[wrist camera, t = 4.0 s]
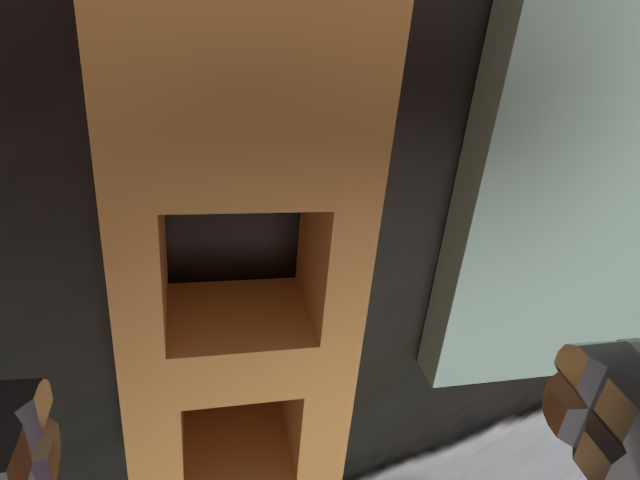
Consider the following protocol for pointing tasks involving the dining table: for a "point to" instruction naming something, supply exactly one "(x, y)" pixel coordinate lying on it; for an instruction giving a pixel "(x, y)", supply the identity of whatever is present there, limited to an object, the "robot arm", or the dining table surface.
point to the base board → (542, 196)
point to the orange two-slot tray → (233, 198)
